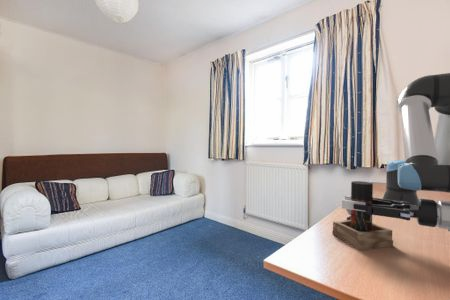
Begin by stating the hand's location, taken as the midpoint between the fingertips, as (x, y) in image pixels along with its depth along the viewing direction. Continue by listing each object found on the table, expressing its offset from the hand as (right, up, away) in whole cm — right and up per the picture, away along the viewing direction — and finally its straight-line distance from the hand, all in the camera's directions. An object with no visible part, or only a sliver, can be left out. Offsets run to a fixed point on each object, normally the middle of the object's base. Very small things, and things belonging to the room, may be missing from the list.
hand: (343, 201), depth 77 cm
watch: (+10, -12, +10) cm, 18 cm away
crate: (+4, -12, -2) cm, 13 cm away
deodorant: (+4, -8, -3) cm, 10 cm away
